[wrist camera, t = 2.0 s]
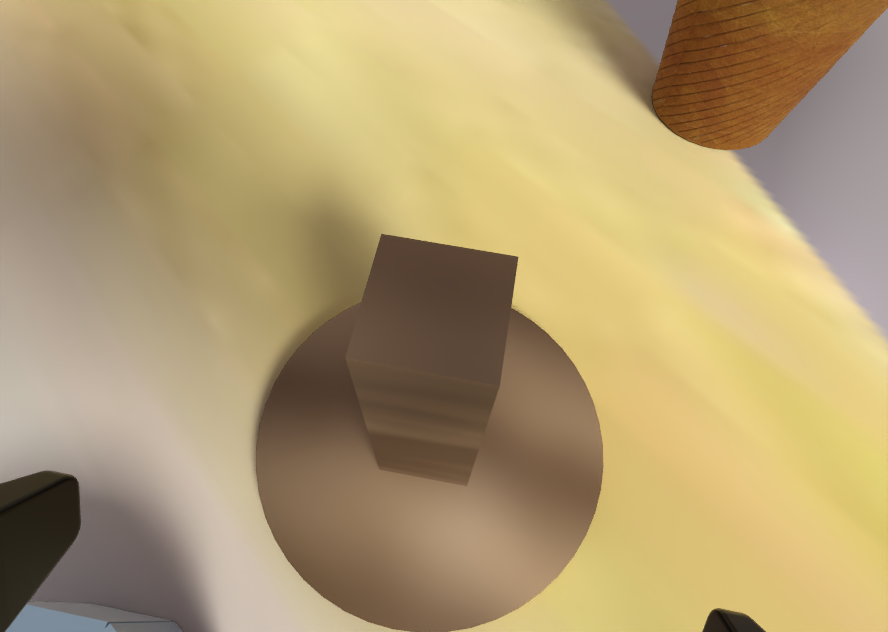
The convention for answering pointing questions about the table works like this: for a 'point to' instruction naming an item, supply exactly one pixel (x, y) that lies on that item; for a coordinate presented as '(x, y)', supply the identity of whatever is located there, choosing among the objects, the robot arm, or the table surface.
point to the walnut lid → (430, 447)
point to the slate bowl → (85, 619)
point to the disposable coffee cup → (750, 63)
